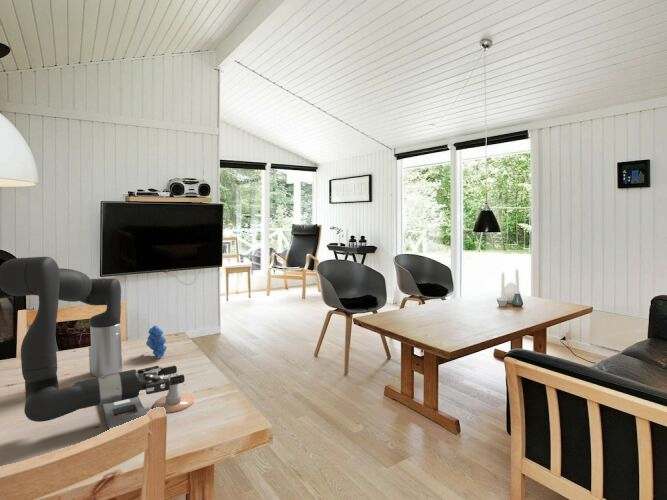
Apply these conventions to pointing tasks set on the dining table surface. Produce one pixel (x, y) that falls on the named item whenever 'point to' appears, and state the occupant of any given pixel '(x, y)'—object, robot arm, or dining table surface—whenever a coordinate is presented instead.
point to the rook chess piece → (173, 393)
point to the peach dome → (183, 404)
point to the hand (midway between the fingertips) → (180, 373)
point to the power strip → (123, 407)
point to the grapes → (156, 341)
